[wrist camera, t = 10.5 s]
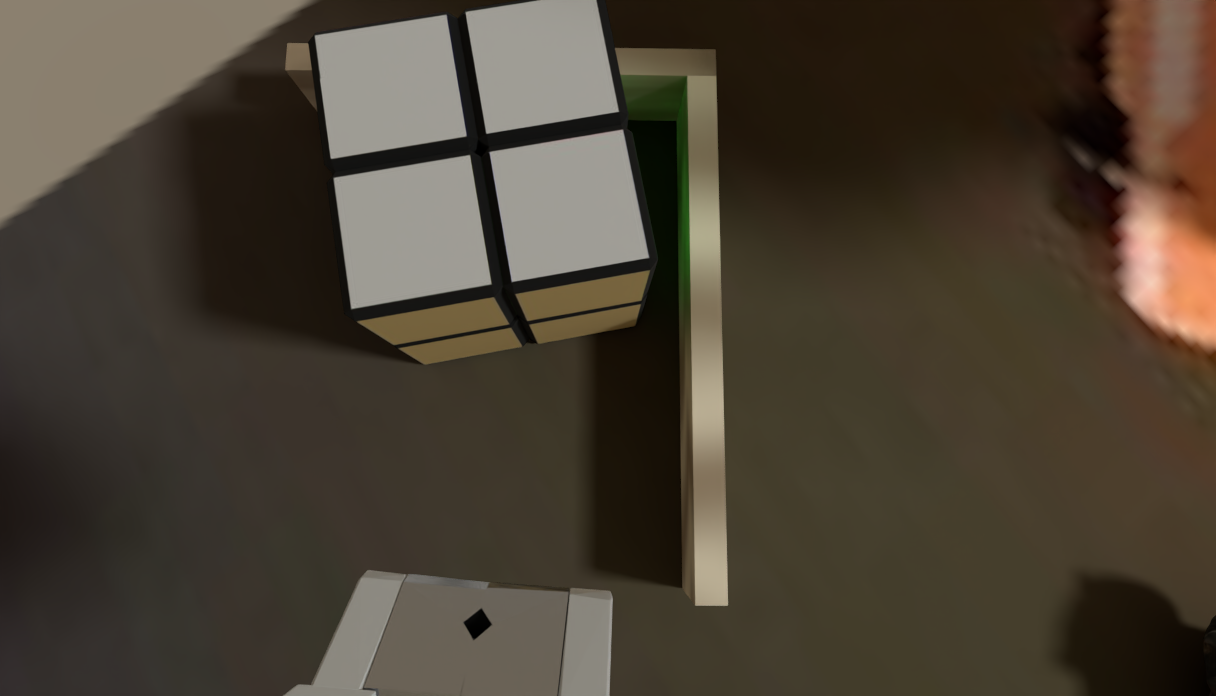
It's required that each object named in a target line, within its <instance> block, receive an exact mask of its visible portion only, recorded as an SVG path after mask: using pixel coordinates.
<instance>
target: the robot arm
mask: <svg viewBox="0 0 1216 696" xmlns="http://www.w3.org/2000/svg"><path fill="white" fill-rule="evenodd" d="M568 602H569V605H568ZM612 602H613V597H612V594H611V592H610V591H605V590H591V589H578V588H571V590H570V595H569V588H565V587H552V586H538V585H525V584H511V583H498V582H490V583H488V582H479V581H470V580H461V579H452V578H443V577H434V576H425V575H415V574H409V575H408V574H399V573H390V572H381V571H372V570H367V571H366V572H365V574H364V575H363V576H362V577H361V578H360V579H359V580H358V583H357V585H356V587H355V589H354V591H353V594H352V596H351V598H350V600H349V602H348V605H347V607H346V609H345V611H344V613H343V616H342V618H341V620H340V622H339V624H338V627H337V629H336V631H335V633H334V635H333V638H332V640H331V642H330V644H329V646H328V649H327V651H326V653H325V655H324V657H323V660H322V662H321V664H320V666H319V668H318V671H317V673H316V675H315V677H314V679H313V682H312V684H311V685H300V684H298V685H296V686H295V687H294V688H292V689H291V690H290V691H288V692H287V693H286V694H284V695H283V696H609V688H610V659H611V631H612Z"/></svg>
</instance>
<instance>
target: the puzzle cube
mask: <svg viewBox="0 0 1216 696" xmlns="http://www.w3.org/2000/svg"><path fill="white" fill-rule="evenodd" d="M308 45H309V53H310V60H311V68H312V75H313V83H314V90H315V98H316V105H317V113H318V120H319V128H320V135H321V143H322V150H323V158H324V165H325V166H326V167H327V168H328V169H329V170H330V171H331V173H332V174H333V176H332V177H331V178H330V180H329V181H328V182H327V188H328V195H329V203H330V210H331V218H332V225H333V233H334V240H335V248H336V255H337V263H338V270H339V278H340V285H341V293H342V300H343V308H344V314H346V315H347V316H348V317H350V318H351V319H353V320H354V321H356V322H357V323H359V324H360V325H362V326H364V327H365V328H367V329H368V330H370V331H371V332H373V333H375V334H376V335H378V336H379V337H381V338H383V339H384V340H386V341H387V342H389V343H390V344H392V345H393V346H395V347H396V348H398V349H399V350H401V351H403V352H404V353H406V354H408V355H409V356H411V357H412V358H414V359H416V360H417V361H419V362H421V363H422V364H424V365H426V364H431V363H437V362H442V361H448V360H453V359H459V358H464V357H469V356H475V355H480V354H486V353H491V352H497V351H502V350H507V349H513V348H518V347H523V346H524V344H525V343H526V342H527V340H528V339H529V338H530V339H531V340H533V341H534V342H536V343H537V344H541V343H546V342H551V341H557V340H562V339H568V338H573V337H579V336H584V335H589V334H595V333H600V332H606V331H611V330H617V329H622V328H627V327H633V326H636V324H637V323H638V321H639V320H640V318H641V315H642V312H643V308H644V305H645V301H646V298H647V292H648V290H649V287H650V283H651V280H652V277H653V274H654V271H655V267H656V264H657V261H658V255H657V250H656V245H655V241H654V236H653V231H652V226H651V221H650V216H649V211H648V206H647V202H646V197H645V192H644V187H643V182H642V177H641V172H640V167H639V162H638V158H637V153H636V148H635V143H634V138H633V133H632V132H631V131H630V130H628V129H627V125H628V116H629V114H628V109H627V104H626V99H625V95H624V90H623V85H622V80H621V75H620V70H619V65H618V60H617V56H616V51H615V46H614V41H613V36H612V31H611V26H610V21H609V16H608V12H607V7H606V2H605V0H519V1H513V2H507V3H500V4H494V5H488V6H481V7H475V8H469V9H465V10H464V12H463V13H462V14H461V15H460V17H459V18H456V17H455V16H453V15H451V14H450V13H448V12H447V11H446V12H440V13H434V14H427V15H421V16H415V17H408V18H402V19H396V20H389V21H383V22H377V23H370V24H364V25H358V26H351V27H345V28H339V29H332V30H326V31H320V32H316V33H315V34H314V36H313V37H312V38H311V39H310V40H309V42H308Z"/></svg>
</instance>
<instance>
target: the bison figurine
mask: <svg viewBox="0 0 1216 696" xmlns="http://www.w3.org/2000/svg"><path fill="white" fill-rule="evenodd" d="M1203 639H1204V645H1203V655H1204V661H1205V665H1206V682H1207V684H1208V686H1209V688H1210V689H1211V691H1210V694H1209V696H1216V615H1215V616H1214V617H1213V618H1212V620H1211V623H1210V625H1209V626H1208V628H1207V630H1206V633H1205V636H1204V638H1203Z"/></svg>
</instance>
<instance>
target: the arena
mask: <svg viewBox="0 0 1216 696" xmlns="http://www.w3.org/2000/svg"><path fill="white" fill-rule="evenodd" d="M615 51H616V56H617V60H618V65H619V70H620V75H621V80H622V85H623V90H624V95H625V99H626V104H627V109H628V114H629V116H628V120H650V121H677V193H678V274H679V356H680V438H681V519H682V589H683V590H684V591H685V593H686V594H687V595H688V597H689V598H690V599H691V600H692V602H693V603H694V604H695V606H728V586H727V540H726V494H725V449H724V403H723V357H722V312H721V266H720V220H719V175H718V129H717V83H716V49H655V48H615ZM285 70H286V72H287V73H288V74H289V76H290V77H291V78H292V79H293V81H294V82H295V83H296V85H297V86H298V87H299V89H300V90H301V91H302V93H303V94H304V95H305V96H306V98H307V99H308V100H309V102H310V103H311V104H312V106H313V107H314V108H315V109H316V111H317V105H316V98H315V90H314V83H313V75H312V68H311V60H310V53H309V45H308V43H287V54H286V67H285Z"/></svg>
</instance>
